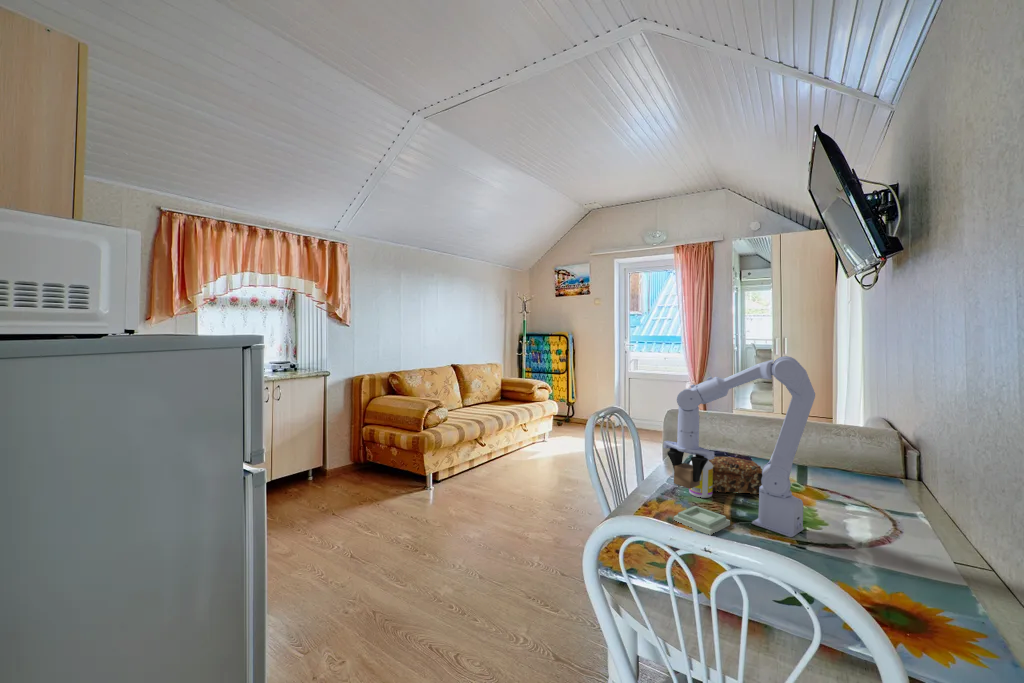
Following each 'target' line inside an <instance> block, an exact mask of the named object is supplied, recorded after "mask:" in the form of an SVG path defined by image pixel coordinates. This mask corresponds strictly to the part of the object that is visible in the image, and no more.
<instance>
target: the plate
mask: <svg viewBox="0 0 1024 683" xmlns="http://www.w3.org/2000/svg"><path fill="white" fill-rule="evenodd" d="M674 520H675V521H677V522H676V523H678V522H679V523H678V524H680V523H682V524H681V525H683V526H686V527H688V526H689V528H690V527H692V528H691V529H693V530H696V531H698V532H701V533H704V534H706V535H708V534H709V535H708V536H711V535H713V533H714V534H716V533H718V532H719V531H721V530H723V529H725V528H727V527H729V526H731V520H730V519H727V515H723V514H720V513H718V512H714V511H712V510H709V509H706V508H703V507H699V506H698V505H694V506H691V507H689V508H687V509H686V508H685V509H683V510H682V511H679V512H677V514H676V515H674V516H673V521H674ZM675 521H674V522H675ZM715 532H716V533H715Z"/></svg>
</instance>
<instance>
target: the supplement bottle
mask: <svg viewBox="0 0 1024 683" xmlns="http://www.w3.org/2000/svg"><path fill="white" fill-rule="evenodd" d="M694 456H695V457H696V455H693V454H692V457H694ZM689 465H692V461H691V460H690V462H689ZM688 490H689V494H690V495H692V496H694V497H697V498H700V497H701V498H702V499H708V498H712V496H713V492H714V491H713V465H712V463H711V462H709V460H708V461H707V463H706V464H705V466H704V468H703V470H702V473H701V476H700V485H699V486H696V487H693V488H691V489H689V488H688Z"/></svg>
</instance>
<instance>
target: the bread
mask: <svg viewBox="0 0 1024 683" xmlns="http://www.w3.org/2000/svg"><path fill="white" fill-rule="evenodd" d="M709 462H711V463H712V465H713V491H712V492H717V491H718V492H719V493H726V492H738V493H750V495H757V494H759V487H760V486H762V483H761V479H762V469H763V468H762V467H761V465H759V464H757V463H756V462H755V461H754V460H748V459H744V458H743V459H742V458H738V457H734V456H733V457H732V456H715V455H714V459H711V460H709ZM718 492H717V493H718Z"/></svg>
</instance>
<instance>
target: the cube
mask: <svg viewBox="0 0 1024 683" xmlns="http://www.w3.org/2000/svg"><path fill="white" fill-rule="evenodd" d="M673 484H674V485H677V486H681V487H683V488H686V489H688V490H689V489H691V488H693V487H696V486H699V485H700V480H699V481H698V482H693V465H690V463H685V462H684V463H683V462H682V464H680V465H676V466H674V468H673Z"/></svg>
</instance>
